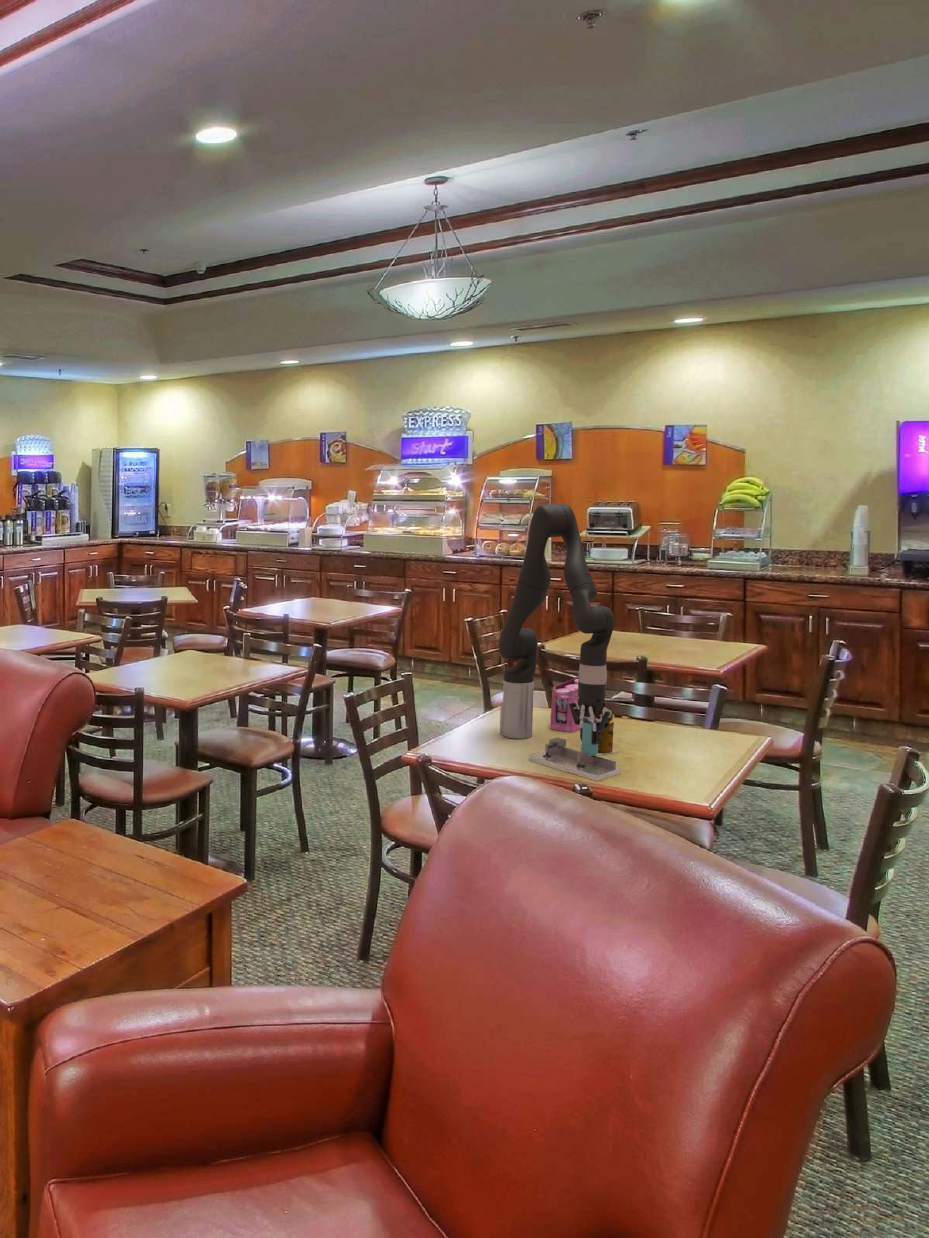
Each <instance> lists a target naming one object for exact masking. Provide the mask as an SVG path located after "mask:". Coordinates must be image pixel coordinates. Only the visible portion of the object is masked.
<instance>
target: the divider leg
mask: <svg viewBox="0 0 929 1238" xmlns="http://www.w3.org/2000/svg"><path fill="white" fill-rule="evenodd" d="M592 731H593V727H592V723H591V721H587V722H583V728H582V741H581V745H580V751H579V752H580V753H577V764H578V765H580V758H581V757H585V756H589V757H590V756H596V755H597V754H598V744H596V745H593V744H592Z"/></svg>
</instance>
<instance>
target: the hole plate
mask: <svg viewBox="0 0 929 1238" xmlns="http://www.w3.org/2000/svg"><path fill="white" fill-rule="evenodd" d="M566 746H567V739H565V738H562V737H558V736H557V737H555V738H550V739H549V743H545V747H544V748H545V750H543V751H540V752H536V753H531V754H529V755H528V761H530V762H534V763H536V764H540V765H542V766H546V767H550V768H553V769H556V770H558V771H559V770H560V771H562V770H565V771H567V772H566V773H569V772H570V773H569V774H572V773H574V774H573V775H575V774H577V775H576V776H578V777H579V776H580V777H582V778H585V777H586V779H588V780H589V779H590V780H592V781H596V782H600V781H602V780H606V779H609V778H611V777H614V776H617V775H621V773H622V768H621V767H619V766H617V761H616V760H611V759H608V758H604V757H600V756H596V755H594V756H590V757H589V756H585V757H581V758H580V765H578V764H577V753H580V752H581V751H579V750H575V749H571V748H568V747H566ZM565 771H564V772H565Z"/></svg>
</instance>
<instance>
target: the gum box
mask: <svg viewBox="0 0 929 1238" xmlns="http://www.w3.org/2000/svg"><path fill="white" fill-rule="evenodd" d="M551 694H552V695H551V708H550V709H551V711H550V725H549V726H550V727H549V729H550V730H553V731H554V730H555V731H559V732H560V731H561V732H567V733H571V732H572V733H573V732H575V731H578V730H579V729H580V727H579V725H577V724H575V723H574V720H573V716H572V713H571V709H570V706H569V705H570V703H574V702H578V699H579V697H578V676H576V677H574V678H572V679H569V680H567V681H565V682H562V683H560V684H558V685H555V686H553V687H552V693H551ZM580 711H581V710H580ZM577 718H578V717H577ZM589 721H591V719H590V720H589Z"/></svg>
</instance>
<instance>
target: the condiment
mask: <svg viewBox="0 0 929 1238" xmlns="http://www.w3.org/2000/svg"><path fill="white" fill-rule="evenodd" d="M602 714H603V712H602ZM602 718H603V716H602ZM613 718H614V716H612V718H611V720H610V723H609V725H608V727H607V729H604V730H601V731H600V742H599V743H598V754H597V755H595V756H597V757H599V756H602V755H607V754H608V755H609V754H615V753H618V752H619V750H615V749H614V748H613V745H614V744H613V743H614V726H615V725H614V724H615V723H614V719H613ZM595 719H597V718H595Z"/></svg>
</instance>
